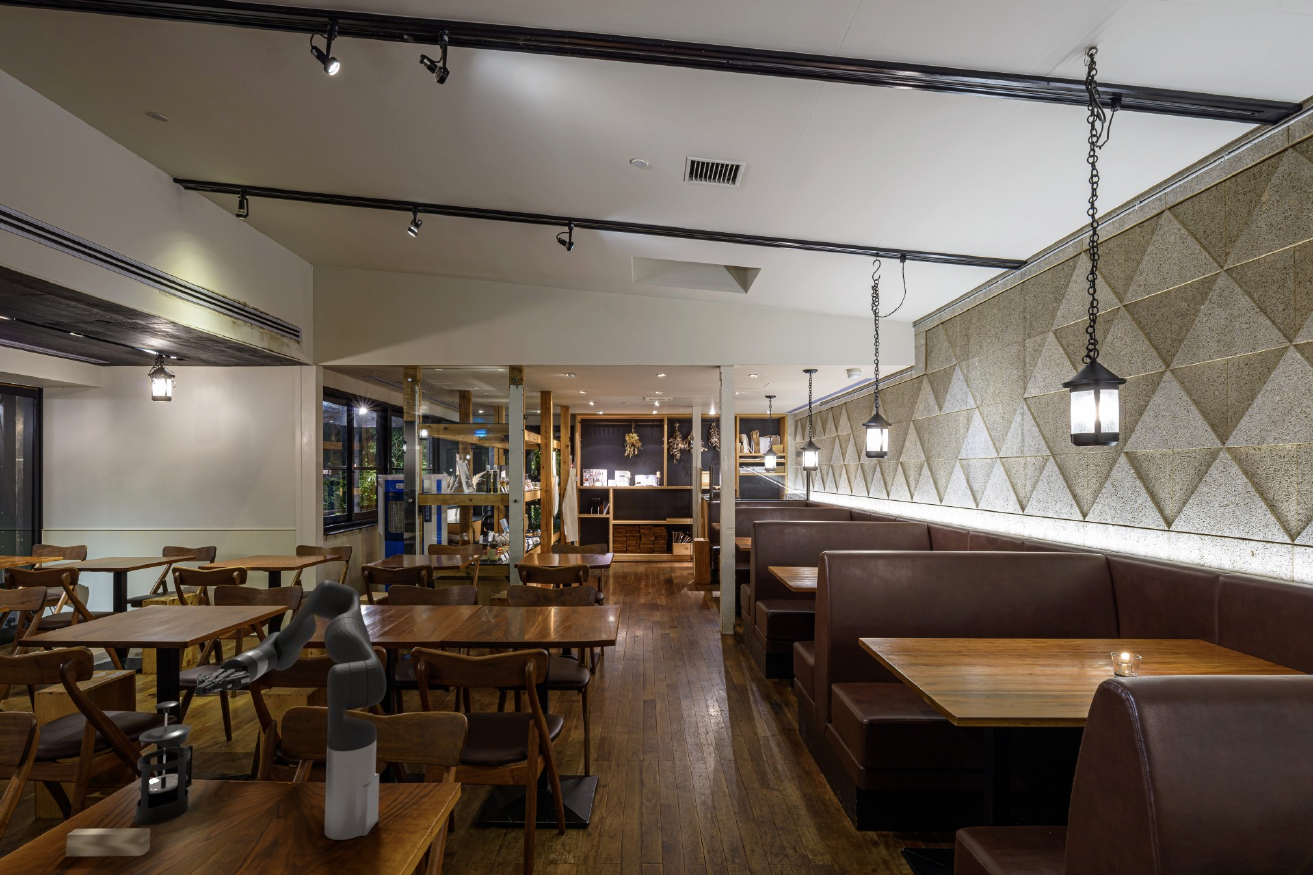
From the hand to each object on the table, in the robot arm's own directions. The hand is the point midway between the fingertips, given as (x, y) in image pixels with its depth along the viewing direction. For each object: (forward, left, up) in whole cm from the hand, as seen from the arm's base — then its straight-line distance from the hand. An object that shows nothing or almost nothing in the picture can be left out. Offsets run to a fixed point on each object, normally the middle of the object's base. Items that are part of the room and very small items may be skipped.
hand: (199, 691), depth 152 cm
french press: (0, +10, -22) cm, 24 cm away
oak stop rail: (0, +25, -22) cm, 33 cm away
